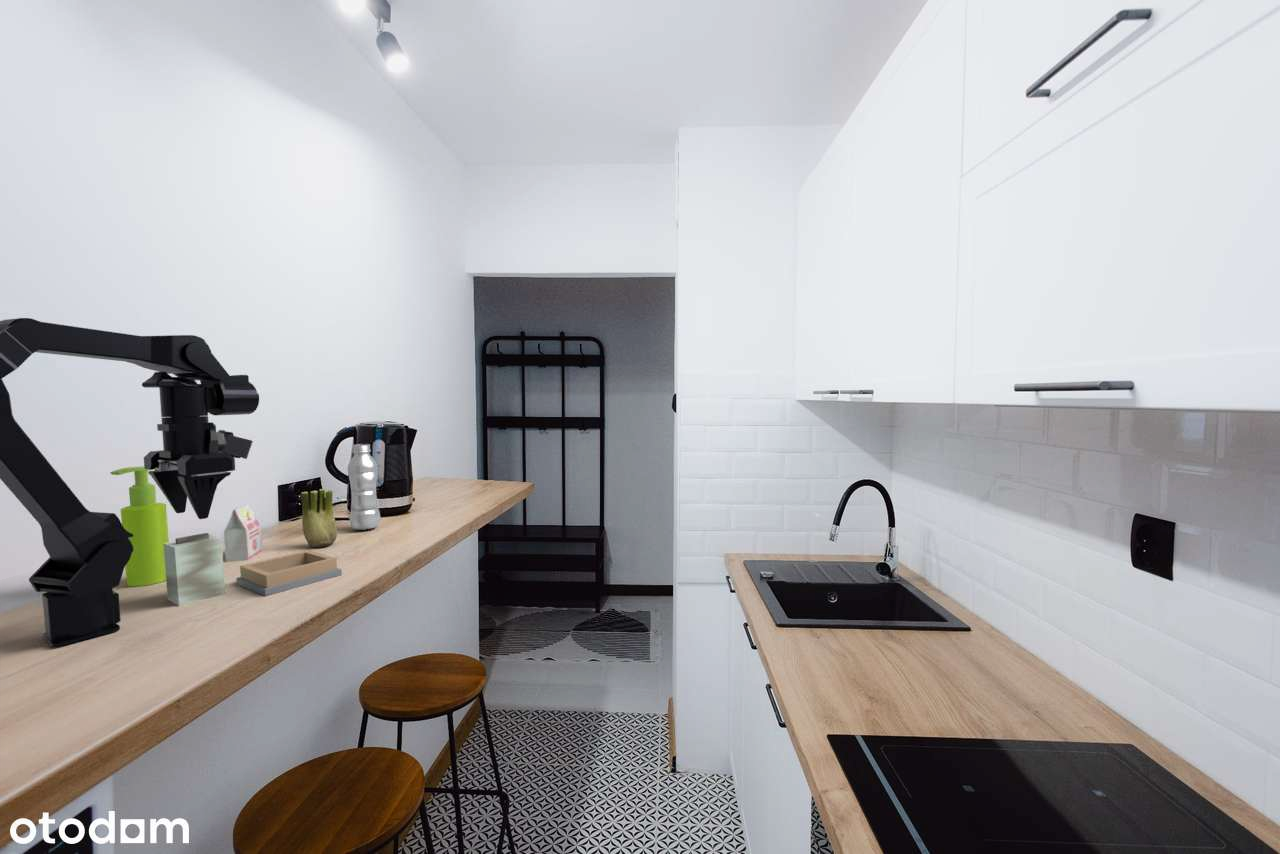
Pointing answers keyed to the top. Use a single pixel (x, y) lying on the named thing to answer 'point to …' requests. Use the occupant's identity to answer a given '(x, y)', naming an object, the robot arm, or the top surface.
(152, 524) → the soap dispenser
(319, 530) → the fennel bulb
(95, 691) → the top surface
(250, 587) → the rectangular tray
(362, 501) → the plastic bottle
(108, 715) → the top surface
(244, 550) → the milk carton
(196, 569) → the cabinet block
